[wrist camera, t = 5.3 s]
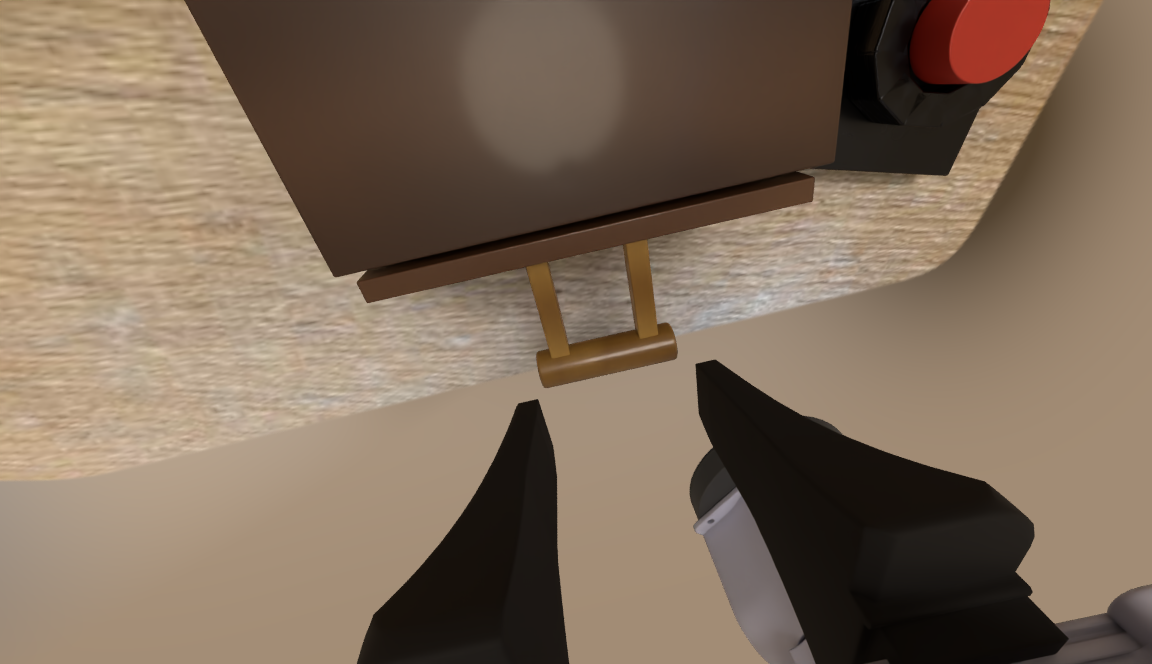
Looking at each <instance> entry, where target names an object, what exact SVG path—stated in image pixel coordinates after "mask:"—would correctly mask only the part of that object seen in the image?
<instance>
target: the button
mask: <svg viewBox="0 0 1152 664" xmlns="http://www.w3.org/2000/svg"><path fill="white" fill-rule="evenodd" d="M1049 5H1050V0H931V1H930V3H929V4H928V5H927V7H926V8H925V9H924V11H923V12H922V14H921V16H920V17H919V19H918V21H917V23H916V26H915V28H914V31H913V34H912V37H911V41H910V48H909V59H910V64H911V68H912V70H913V72H914V74H915V75H916V76H917V77H918V78H919V79H920V80H922V81H923V82H925V83H928V84H980V83H985V82H988V81H991V80H993V79H996V78H998V77H999V76H1001V75H1003V74H1004V73H1006V72H1007V71H1009V70H1010V69H1011V68H1012V67H1014V66H1015V65H1016V64H1017V63H1018V62H1019V61H1020V60H1021V59H1022V58H1023V57H1024V56H1025V55H1026V53H1027V52H1028V51H1029V50H1030V48H1031V47H1032V45H1033V44H1034V42H1035V41H1036V39H1037V38H1038V36H1039V34H1040V32H1041V30H1042V28H1043V26H1044V23H1045V20H1046V17H1047V14H1048V10H1049Z"/></svg>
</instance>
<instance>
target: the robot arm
mask: <svg viewBox="0 0 1152 664" xmlns="http://www.w3.org/2000/svg"><path fill="white" fill-rule="evenodd" d="M696 378H697V394H698V408H699V415H700V418H701V420H702V423H703V425H704V428H705V430H706V432H707V435H708V437H709V439H710V442H711V444H712V445H713V447H714V449H715V451H716V453H717V454H718V456H719V458H720V460H721V461H722V463H723V465H724V467H725V468H726V470H727V472H728V473H729V475H730V477H731V479H732V480H733V482H734V484H735V486H736V487H735V488H734V489H733V490H732V491H731V492H730V493H729V494H727V495H726V496H725V497H724V498H723V499H722V500H721V501H720V502H718V503H717V504H716V505H715V506H714V507H713V508H712V509H711V510H709V511H708V512H707V513H706V514H705V515H704V516H703V517H701V518H700V519H699V520H698V521H697V522H696V523H695V524H694V526H693V527H694V529H695V532H696V533H698V534H701V535H703V536H704V538H705V541H706V544H707V547H708V549H709V552H710V554H711V557H712V559H713V562H714V564H715V567H716V569H717V572H718V574H719V577H720V580H721V582H722V585H723V587H724V590H725V592H726V595H727V597H728V600H729V603H730V605H731V608H732V610H733V613H734V615H735V617H736V619H737V621H738V623H739V625H740V627H741V629H742V631H743V632H744V634H745V635H746V637H747V638H748V640H749V641H750V643H751V644H752V646H753V647H754V648H755V650H756V651H757V652H758V653H759V654H760V655H761V656H762V657H763V658H764V659H765V660H766V661H767V662H768V663H770V664H1152V584H1151V585H1146V586H1141V587H1137V588H1134V589H1131V590H1129V591H1127V592H1125V593H1123V594H1121V595H1120V596H1118V597H1117V598H1116V599H1115V600H1114V601H1113V602H1112V603H1111V604H1110V606H1109V607H1108V611H1107V613H1104V614H1099V615H1094V616H1090V617H1085V618H1080V619H1075V620H1070V621H1066V622H1061V623H1056V624H1054V623H1053V622H1052V621H1051V620H1050V619H1049V618H1048V617H1047V616H1046V615H1045V614H1044V613H1043V612H1042V611H1041V610H1040V609H1039V608H1038V607H1037V606H1036V605H1035V604H1034V603H1033V602H1032V600H1031V599H1029V597H1028V596H1030V595H1031V594H1032V590H1031V587H1030V586H1029V585H1028V584H1027V583H1026V582H1025V581H1024V580H1023V579H1022V578H1021V577H1020V576H1019V575H1018V574H1017V573H1016V572H1015V571H1016V570H1017V568H1018V566H1019V565H1020V563H1021V562H1022V560H1023V558H1024V557H1025V555H1026V553H1027V551H1028V550H1029V548H1030V547H1031V544H1032V542H1033V539H1034V524H1033V523H1032V522H1031V521H1030V520H1029V518H1028V517H1026V516H1025V515H1024V514H1023V513H1022V512H1021V511H1020V510H1019V509H1017V508H1016V507H1015V506H1014V505H1013V504H1012V503H1010V502H1009V501H1008V500H1007V499H1006V498H1005V497H1003V496H1002V495H1001V494H1000V493H999V492H997V491H996V490H995V489H994V488H993V487H991V486H990V485H989V484H987V483H986V482H985V481H981V480H977V479H974V478H969V477H966V476H962V475H959V474H955V473H951V472H948V471H944V470H940V469H937V468H933V467H930V466H926V465H923V464H920V463H917V462H914V461H911V460H908V459H905V458H902V457H899V456H896V455H893V454H890V453H887V452H884V451H882V450H879V449H876V448H874V447H871V446H869V445H866V444H864V443H861V442H859V441H856V440H853V439H851V438H849V437H846V436H844V435H842V434H839V433H837V432H835V431H833V430H831V429H829V428H827V427H824V426H822V425H820V424H818V423H816V422H814V421H812V420H810V419H808V418H806V417H804V416H802V415H800V414H799V413H797V412H795V411H793V410H792V409H790V408H788V407H786V406H784V405H783V404H781V403H779V402H777V401H776V400H774V399H773V398H771V397H769V396H768V395H766V394H765V393H763V392H762V391H760V390H759V389H757V388H756V387H754V386H752V385H751V384H750V383H748V382H747V381H745V380H744V379H742V378H741V377H740V376H738V375H737V374H735V373H734V372H732V371H731V370H730V369H728V368H727V367H725V366H724V365H722V364H721V363H720V362H718V361H717V360H711V361H706V362H702V363H698V364H696ZM357 664H569V658H568V650H567V642H566V633H565V625H564V616H563V606H562V597H561V586H560V576H559V566H558V550H557V474H556V465H555V457H554V449H553V445H552V441H551V438H550V435H549V432H548V428H547V426H546V422H545V419H544V416H543V413H542V410H541V407H540V404H539V401H538V399H536V400H532V401H528V402H523V403H519V404H518V405H517V407H516V409H515V412H514V415H513V417H512V420H511V423H510V425H509V428H508V430H507V432H506V435H505V437H504V439H503V441H502V444H501V446H500V448H499V450H498V452H497V454H496V456H495V459H494V461H493V462H492V465H491V466H490V468H489V470H488V472H487V474H486V475H485V477H484V479H483V481H482V483H481V485H480V486H479V488H478V490H477V491H476V493H475V495H474V496H473V498H472V499H471V501H470V502H469V504H468V505H467V507H466V509H465V510H464V512H463V513H462V515H461V516H460V517H459V519H458V520H457V521H456V523H455V524H454V526H453V527H452V528H451V530H450V531H449V533H448V534H447V535H446V536H445V538H444V539H443V541H442V542H441V543H440V544H439V545H438V547H437V548H436V549H435V550H434V551H433V552H432V554H431V555H430V556H429V557H428V558H427V560H426V561H425V562H424V563H423V564H422V565H421V567H420V568H419V569H418V570H417V571H416V572H415V573H414V574H413V575H412V576H411V578H410V579H409V580H408V581H407V582H406V583H405V584H404V585H403V586H402V587H401V588H400V589H399V590H398V591H397V592H396V593H395V594H394V595H393V596H392V597H391V598H390V599H389V600H388V601H387V602H386V603H385V604H384V605H383V606H382V607H381V608H380V609H379V610H378V611H377V612H376V613H375V614H374V615H373V618H372V621H371V623H370V626H369V628H368V631H367V633H366V636H365V639H364V642H363V645H362V648H361V651H360V655H359V658H358V661H357Z"/></svg>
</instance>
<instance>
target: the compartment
mask: <svg viewBox="0 0 1152 664" xmlns="http://www.w3.org/2000/svg"><path fill="white" fill-rule="evenodd" d="M184 1H185V2H186V4H187V6H188V8H189V10H190V12H191V13H192V15H193V17H194V19H195V21H196V23H197V25H198V26H199V28H200V30H201V32H202V34H203V36H204V37H205V39H206V41H207V43H208V45H209V47H210V49H211V50H212V52H213V54H214V56H215V58H216V60H217V61H218V63H219V65H220V67H221V69H222V71H223V73H224V74H225V76H226V78H227V80H228V82H229V84H230V86H231V87H232V89H233V91H234V93H235V95H236V97H237V98H238V100H239V102H240V104H241V106H242V108H243V110H244V111H245V113H246V115H247V117H248V119H249V121H250V122H251V124H252V126H253V128H254V130H255V132H256V134H257V135H258V137H259V139H260V141H261V143H262V145H263V146H264V148H265V150H266V152H267V154H268V156H269V158H270V159H271V161H272V163H273V165H274V167H275V169H276V171H277V172H278V174H279V176H280V178H281V180H282V182H283V183H284V185H285V187H286V189H287V191H288V193H289V195H290V196H291V198H292V200H293V202H294V204H295V206H296V207H297V209H298V211H299V213H300V215H301V217H302V219H303V220H304V222H305V224H306V226H307V228H308V230H309V231H310V233H311V235H312V237H313V239H314V241H315V243H316V244H317V246H318V248H319V250H320V252H321V254H322V256H323V257H324V259H325V261H326V263H327V265H328V267H329V268H330V270H331V272H332V274H333V276H334V277H340V276H344V275H349V274H353V273H357V272H361V271H366V270H370V269H374V268H379V267H383V266H387V265H392V264H396V263H400V262H405V261H409V260H413V259H418V258H422V257H426V256H431V255H435V254H439V253H444V252H448V251H452V250H457V249H461V248H466V247H470V246H474V245H479V244H483V243H487V242H492V241H496V240H500V239H505V238H509V237H513V236H518V235H522V234H526V233H531V232H535V231H539V230H544V229H548V228H552V227H557V226H561V225H565V224H570V223H574V222H578V221H583V220H587V219H592V218H596V217H600V216H605V215H609V214H613V213H618V212H622V211H626V210H631V209H635V208H639V207H644V206H648V205H652V204H657V203H661V202H665V201H670V200H674V199H678V198H683V197H687V196H691V195H696V194H700V193H704V192H709V191H713V190H718V189H722V188H726V187H731V186H735V185H739V184H744V183H748V182H752V181H757V180H761V179H765V178H770V177H774V176H778V175H783V174H787V173H791V172H796V171H800V170H804V169H809V168H813V167H817V166H822V165H826V164H830V163H833V162H834V161H835V153H836V144H837V135H838V126H839V117H840V108H841V99H842V89H843V80H844V71H845V62H846V53H847V44H848V35H849V26H850V16H851V7H852V0H184Z"/></svg>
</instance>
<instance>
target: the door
mask: <svg viewBox="0 0 1152 664" xmlns="http://www.w3.org/2000/svg"><path fill="white" fill-rule="evenodd" d="M814 182H815V178H814V177H813V176H809V175H806V174H803V173H800V172H791V173H787V174H783V175H778V176H774V177H770V178H765V179H761V180H757V181H752V182H748V183H744V184H739V185H735V186H731V187H726V188H722V189H718V190H713V191H709V192H704V193H700V194H696V195H691V196H687V197H683V198H678V199H674V200H670V201H665V202H661V203H657V204H652V205H648V206H644V207H639V208H635V209H631V210H626V211H622V212H618V213H613V214H609V215H605V216H600V217H596V218H592V219H587V220H583V221H578V222H574V223H570V224H565V225H561V226H557V227H552V228H548V229H544V230H539V231H535V232H531V233H526V234H522V235H518V236H513V237H509V238H505V239H500V240H496V241H492V242H487V243H483V244H479V245H474V246H470V247H466V248H461V249H457V250H452V251H448V252H444V253H439V254H435V255H431V256H426V257H422V258H418V259H413V260H409V261H405V262H400V263H396V264H392V265H387V266H383V267H379V268H374V269H370V270H367V271H366V272H365V273H364V275H363V276H362V277H361V278H360V279H359V280H358V281H357V285H358V287H359V289H360V290H361V292H362V294H363V296H364V298H365V300H366V302H367V303H371V302H375V301H379V300H384V299H388V298H392V297H397V296H401V295H405V294H410V293H414V292H419V291H423V290H427V289H432V288H436V287H440V286H445V285H449V284H454V283H458V282H462V281H467V280H471V279H475V278H480V277H484V276H488V275H493V274H497V273H502V272H506V271H510V270H515V269H519V268H523V267H526V270H527V273H528V277H529V281H530V284H531V288H532V291H533V295H534V298H535V302H536V305H537V309H538V312H539V316H540V320H541V323H542V327H543V330H544V334H545V337H546V341H547V344H548V348H549V349H546V350H541V351H538V352H537V354H536V361H537V367H538V372H539V376H540V379H541V382H542V385H543V386H544V388H550V387H554V386H559V385H563V384H568V383H572V382H577V381H581V380H586V379H590V378H594V377H599V376H603V375H608V374H612V373H617V372H621V371H625V370H630V369H635V368H639V367H644V366H648V365H652V364H657V363H661V362H666V361H670V360H674V359H676V358H677V353H678V351H677V343H676V339H675V335H674V332H673V330H672V327H671V326H670V324H669V323H661V324H657V319H656V310H655V302H654V293H653V285H652V276H651V268H650V259H649V251H648V242H647V239H650V238H655V237H659V236H663V235H668V234H672V233H676V232H681V231H685V230H689V229H694V228H698V227H703V226H707V225H711V224H716V223H720V222H724V221H729V220H733V219H738V218H742V217H746V216H751V215H755V214H759V213H764V212H768V211H773V210H777V209H781V208H786V207H790V206H794V205H799V204H803V203H807V202H812V201H813V193H814ZM620 245H623V251H624V258H625V264H626V271H627V278H628V284H629V291H630V298H631V304H632V311H633V318H634V324H635V330H630V331H626V332H621V333H617V334H612V335H608V336H603V337H599V338H595V339H590V340H586V341H581V342H577V343H572V344H569V343H568V339H567V335H566V331H565V327H564V323H563V319H562V315H561V311H560V307H559V303H558V299H557V295H556V291H555V287H554V283H553V279H552V275H551V271H550V267H549V263H548V262H550V261H554V260H558V259H563V258H567V257H572V256H576V255H580V254H585V253H589V252H593V251H598V250H602V249H606V248H611V247H615V246H620Z"/></svg>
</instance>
